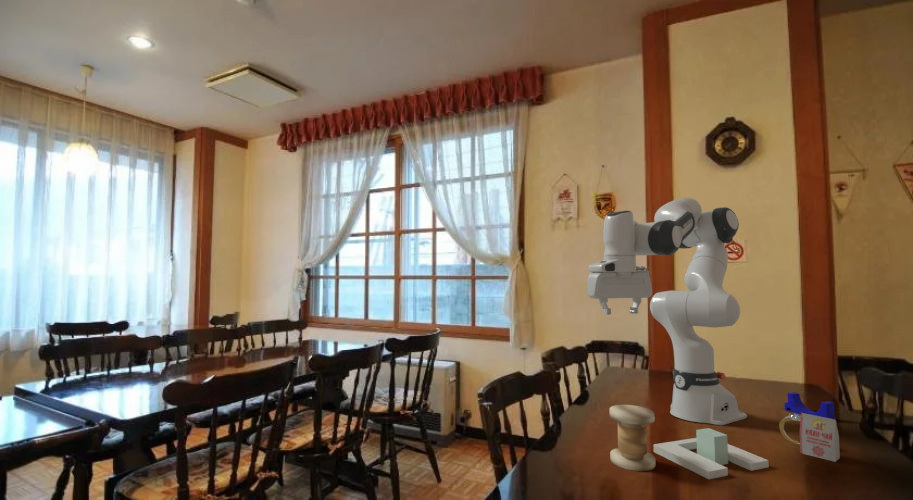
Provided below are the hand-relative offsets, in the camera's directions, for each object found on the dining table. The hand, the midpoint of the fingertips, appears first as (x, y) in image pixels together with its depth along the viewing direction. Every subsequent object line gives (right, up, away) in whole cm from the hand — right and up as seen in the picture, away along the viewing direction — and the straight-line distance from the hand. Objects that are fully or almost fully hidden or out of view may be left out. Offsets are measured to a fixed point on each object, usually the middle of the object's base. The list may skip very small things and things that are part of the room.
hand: (620, 314), depth 127 cm
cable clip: (+63, -34, +11) cm, 73 cm away
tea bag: (+41, -32, -20) cm, 56 cm away
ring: (+42, -33, -12) cm, 54 cm away
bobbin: (-6, -32, -23) cm, 39 cm away
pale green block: (+13, -32, -23) cm, 41 cm away
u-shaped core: (+13, -32, -22) cm, 41 cm away
